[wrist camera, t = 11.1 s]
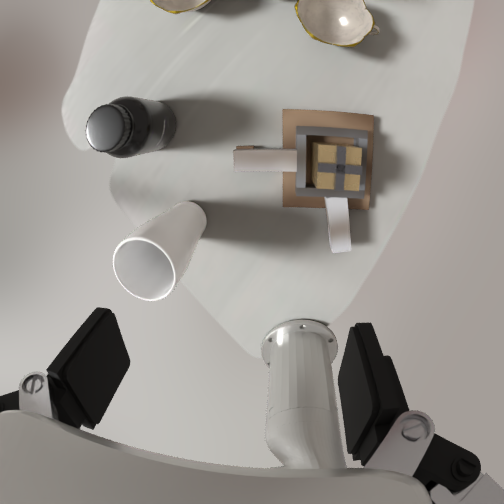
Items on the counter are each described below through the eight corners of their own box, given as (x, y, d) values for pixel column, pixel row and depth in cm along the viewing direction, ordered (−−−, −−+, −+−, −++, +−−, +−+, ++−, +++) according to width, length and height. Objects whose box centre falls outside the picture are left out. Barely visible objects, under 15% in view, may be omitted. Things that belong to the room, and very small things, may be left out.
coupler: (345, 179, 34) (360, 192, 27) (310, 177, 34) (317, 189, 28) (347, 144, 32) (363, 148, 25) (311, 141, 32) (319, 145, 26)
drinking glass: (199, 186, 37) (153, 224, 23) (221, 232, 39) (190, 291, 26) (157, 206, 38) (99, 251, 25) (179, 248, 41) (135, 309, 27)
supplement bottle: (184, 140, 34) (143, 149, 24) (139, 158, 36) (88, 174, 25) (169, 92, 32) (123, 82, 21) (125, 112, 33) (70, 114, 22)
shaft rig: (362, 243, 38) (369, 254, 35) (240, 240, 39) (237, 251, 36) (370, 115, 31) (380, 114, 28) (236, 110, 32) (232, 108, 29)
